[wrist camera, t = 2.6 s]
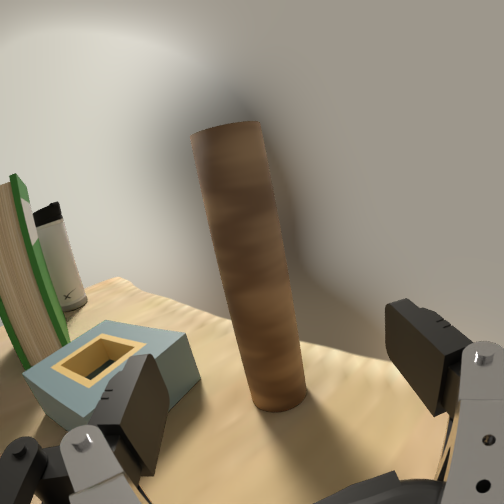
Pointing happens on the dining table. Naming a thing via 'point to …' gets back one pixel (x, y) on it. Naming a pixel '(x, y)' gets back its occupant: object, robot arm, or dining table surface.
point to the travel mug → (59, 257)
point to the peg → (251, 260)
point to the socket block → (107, 368)
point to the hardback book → (26, 281)
